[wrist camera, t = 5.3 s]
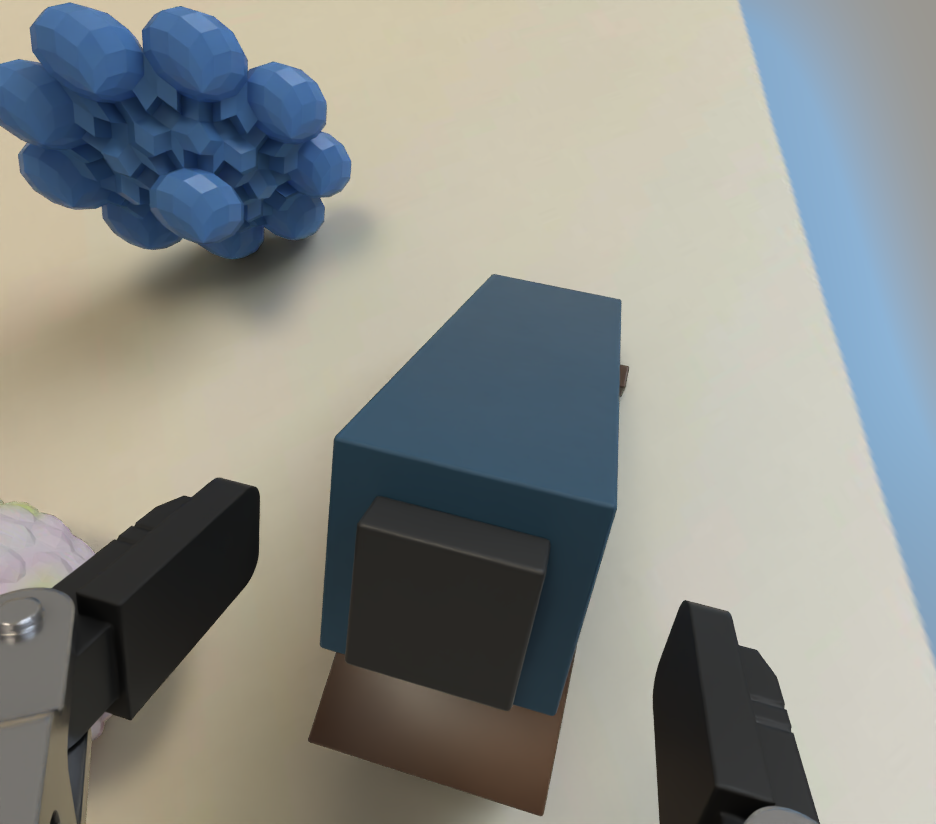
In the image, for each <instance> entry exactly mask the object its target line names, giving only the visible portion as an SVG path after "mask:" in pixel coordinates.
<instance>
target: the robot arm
mask: <svg viewBox="0 0 936 824" xmlns="http://www.w3.org/2000/svg"><path fill="white" fill-rule="evenodd" d="M259 519H260V494H259V491H258V489H257V488H256V487H254V486H250V485H246V484H242V483H239V482H235V481H231V480H227V479H223V478H216V479H214V480H212V481H211V482H210V483H208V484H207V485H206V486H205V487H204V488H202V489H201V490H200V491H199V492H197V493H196V494H195V495H194V496H192V497H187V496H182V497H179V498H177V499H174V500H172V501H169V502H167V503H165V504H162V505H160V506H157V507H155V508H154V509H153V510H152V511H150V512H149V513H148V514H146V515H145V516H144V517H143V518H141V519H140V520H139V521H137V522H136V524H135V526H134V527H133V526H131V527H130V528H128V529H127V530H126V531H124V532H123V533H122V534H121V535H119V537H118V539H117V540H113V541H112V542H110V543H109V544H108V545H106V546H105V547H104V548H103V549H101V550H100V551H99V552H97V553H96V554H95V555H94V556H92V557H91V558H90V559H88V560H87V561H86V562H84V563H83V564H82V565H81V566H79V567H78V568H77V569H75V570H74V571H73V572H72V573H70V574H69V575H68V576H66V577H65V578H64V579H63V580H61V581H60V582H59V583H57V584H56V585H55V586H53V587H52V588H45V587H34V588H24V589H19V590H14V591H11V592H7V593H4V594H2V595H0V824H86V815H87V801H88V787H89V773H90V759H91V745H92V732H91V727H92V726H93V725H94V723H95V722H96V721H97V720H98V719H99V718H100V717H101V716H102V715H103V714H104V712H107V713H110V714H113V715H116V716H119V717H122V718H125V719H128V720H132V718H133V717H134V716H135V715H136V714H137V713H138V711H139V710H140V709H141V708H142V707H143V706H144V704H145V703H146V702H147V701H148V700H149V699H150V697H151V696H152V695H153V694H154V693H155V692H156V690H157V689H158V688H159V687H160V686H161V685H162V683H163V682H164V681H165V680H166V679H167V678H168V676H169V675H170V674H171V673H172V672H173V671H174V669H175V668H176V667H177V666H178V665H179V664H180V662H181V661H182V660H183V659H184V658H185V656H186V655H187V654H188V653H189V652H190V651H191V649H192V648H193V647H194V646H195V645H196V644H197V642H198V641H199V640H200V639H201V638H202V637H203V635H204V634H205V633H206V632H207V631H208V630H209V628H210V627H211V626H212V625H213V624H214V623H215V621H216V620H217V619H218V618H219V617H220V616H221V614H222V613H223V612H224V611H225V610H226V609H227V607H228V606H229V605H230V604H231V603H232V601H233V600H234V599H235V598H236V597H237V596H238V594H239V593H240V592H241V591H242V590H243V589H244V587H245V586H246V585H247V584H248V582H249V581H250V579H251V577H252V575H253V573H254V570H255V568H256V565H257V561H258V555H259ZM784 705H785V703H784V700H783V696H782V693H781V690H780V686H779V683H778V679H777V677H776V675H775V674H774V673H773V671H772V670H771V668H770V667H769V666H768V664H767V663H766V662H765V660H764V659H763V658H762V656H761V655H760V653H759V652H758V651H757V650H754V649H751V648H747V647H743V646H739V645H738V641H737V637H736V632H735V628H734V624H733V620H732V616H731V614H730V613H729V612H728V611H725V610H721V609H717V608H713V607H709V606H705V605H702V604H698V603H694V602H690V601H686V600H685V601H683V602H682V604H681V605H680V607H679V610H678V613H677V615H676V618H675V621H674V623H673V626H672V629H671V632H670V634H669V637H668V640H667V642H666V645H665V648H664V651H663V653H662V656H661V659H660V661H659V664H658V668H657V671H656V676H655V681H654V689H653V714H654V732H655V750H656V767H657V785H658V802H659V820H660V824H820V822H819V819H818V816H817V812H816V809H815V806H814V802H813V799H812V795H811V792H810V789H809V785H808V782H807V778H806V775H805V771H804V768H803V765H802V761H801V758H800V754H799V751H798V748H797V744H796V741H795V737H794V734H793V733H791V724H790V720H789V717H788V713H787V710H785V709H784Z"/></svg>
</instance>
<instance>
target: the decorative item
mask: <svg viewBox="0 0 936 824" xmlns="http://www.w3.org/2000/svg"><path fill="white" fill-rule="evenodd" d="M94 555H95V553H94V551H93V550H92V549H91V547H90V546H88V545H87V544H86V543H85V542H84V541H83V540H81V539H79V538H77V537H76V536H74V535H72V533H71V531H70V529H69V528H68V527H66V526H65V525H64V524H63V523H62V521H61V520H60V519H58V518H57V517H55V516H54V515H49V514H45V513H40V512H39V511H38V510H37V509H36V508H34V507H32V506H31V505H29V504H28V503H25V502H9V503H4V502H3V501H2V500H1V499H0V595H2V594H4V593H7V592H11V591H14V590H19V589H24V588H34V587H45V588H52V587H53V586H55V585H56V584H57V583H59V582H60V581H61V580H63V579H64V578H65V577H66V576H68V575H69V574H70V573H72V572H73V571H74V570H75V569H77V568H78V567H79V566H81V565H82V564H83V563H84V562H86V561H87V560H88V559H90V558H91V557H92V556H94ZM111 716H112V714H110V713H107V712H104V714H103V715H102V716H101V717H100V718H99V719H98V720H97V721H96V722H95V723H94V725H93V726H92V727H91V732H92V741H93V740H95V739H96V738H98V737H99V736H100V735H101V734H102V731H103V729H104V726H105V721H106V720H108V719H109V718H110V717H111Z"/></svg>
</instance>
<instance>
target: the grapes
mask: <svg viewBox="0 0 936 824" xmlns="http://www.w3.org/2000/svg"><path fill="white" fill-rule="evenodd" d="M30 35H31V44H32V52H33V53H34V54H35V56H36V57H37V59H38V60H39V61H40V63H39V62H33V61H27V60H20V59H18V60H14V61H10V62H6V63H2V64H0V126H1V127H3V128H4V129H6V130H7V131H9V132H10V133H12V134H13V135H15V136H16V137H18V138H19V139H21V140H23V141H25V142H27V143H26V145H25V146H24V147H23V149H22V150H21V151H20V152H19V154H18V159H19V166H20V173H21V174H22V176H23V177H24V178H25V179H26V181H27V182H28V183H29V184H30V186H31V187H32V188H33V189H34V190H35V191H36V192H38V193H39V194H41V195H42V196H44V197H45V198H47V199H48V200H50V201H51V202H53V203H56V204H59V205H62V206H64V207H67V208H71V209H75V210H81V209H96V208H99V207H101V206H102V215H103V219H104V221H105V222H106V223H107V225H108V226H109V227H110V229H111V230H112V231H113V232H114V234H116V235H118V236H119V237H121V238H122V239H124V240H125V241H127V242H128V243H130V244H132V245H135V246H138V247H141V248H143V249H150V250H156V249H164V248H168V247H170V246H172V245H174V244H176V243H178V242H180V241H181V240H182V238H184V239H186V240H189V241H192V242H195V243H198V244H199V245H200V246H202V247H203V248H205V249H206V250H208V251H209V252H211V253H212V254H215V255H217V256H220V257H223V258H227V259H239V258H244V257H246V256H248V255H250V254H252V253H254V252H256V251H257V249H258V248H259V247H260V245H261V244H262V243H263V241H264V227H265V228H266V229H268V230H269V231H270V232H272V233H273V234H275V235H277V236H279V237H282V238H285V239H288V240H300V239H305V238H307V237H309V236H311V235H313V234H314V233H316V232H317V231H318V229H319V228H320V226H321V225H322V224H323V222H324V213H325V207H324V205H323V203H322V201H321V199H320V198H321V197H331V196H333V195H335V194H337V193H339V192H341V191H342V190H343V188H344V187H345V186H346V184H347V183H348V181H349V180H350V173H351V160H350V158H349V156H348V154H347V152H346V150H345V148H344V146H343V145H342V144H341V143H340V142H338V141H337V140H336V139H335V138H333V137H332V136H331V135H330V134H328V133H324V132H321V130H322V129H323V128H324V126H325V125H326V114H327V104H326V100H325V98H324V96H323V94H322V92H321V90H320V88H319V86H318V84H317V83H316V82H315V81H314V80H313V79H311V78H310V77H309V76H308V75H307V74H305V73H304V72H303V71H302V70H300V69H297V68H294V67H291V66H287V65H284V64H280V63H276V62H271V63H268V64H264V65H261V66H258V67H255V68H252V69H249V71H248V60H247V58H246V56H245V54H244V52H243V50H242V48H241V46H240V45H239V43H238V41H237V39H236V37H235V35H234V33H233V32H232V31H231V30H229V29H228V28H227V27H226V26H225V25H223V24H222V23H221V22H220V21H219V20H217V19H216V18H215V17H214V16H211V15H208V14H204V13H201V12H198V11H195V10H192V9H188V8H185V7H182V6H179V7H175V8H171V9H166V10H162V11H160V12H158V13H156V14H155V15H154V16H153V17H152V18H151V19H150V21H149V22H148V23H147V25H146V26H145V27H144V28H143V30H142V40H143V49H142V47H141V45H140V44H139V42H138V40H137V39H136V37H135V36H134V35H133V34H132V33H131V32H130V31H129V30H128V29H127V28H126V27H124V26H123V25H122V24H121V23H119V22H118V21H117V20H115V19H114V18H113V17H112V16H110V15H109V14H108V13H105V12H101V11H98V10H95V9H92V8H89V7H85V6H81V5H77V4H74V3H65V4H61V5H56V6H51V7H48V8H46V9H45V10H44V11H43V12H42V13H41V14H40V15H39V17H38V18H37V19H36V20H35V22H34V23H33V24H32V26H31V27H30Z"/></svg>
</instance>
